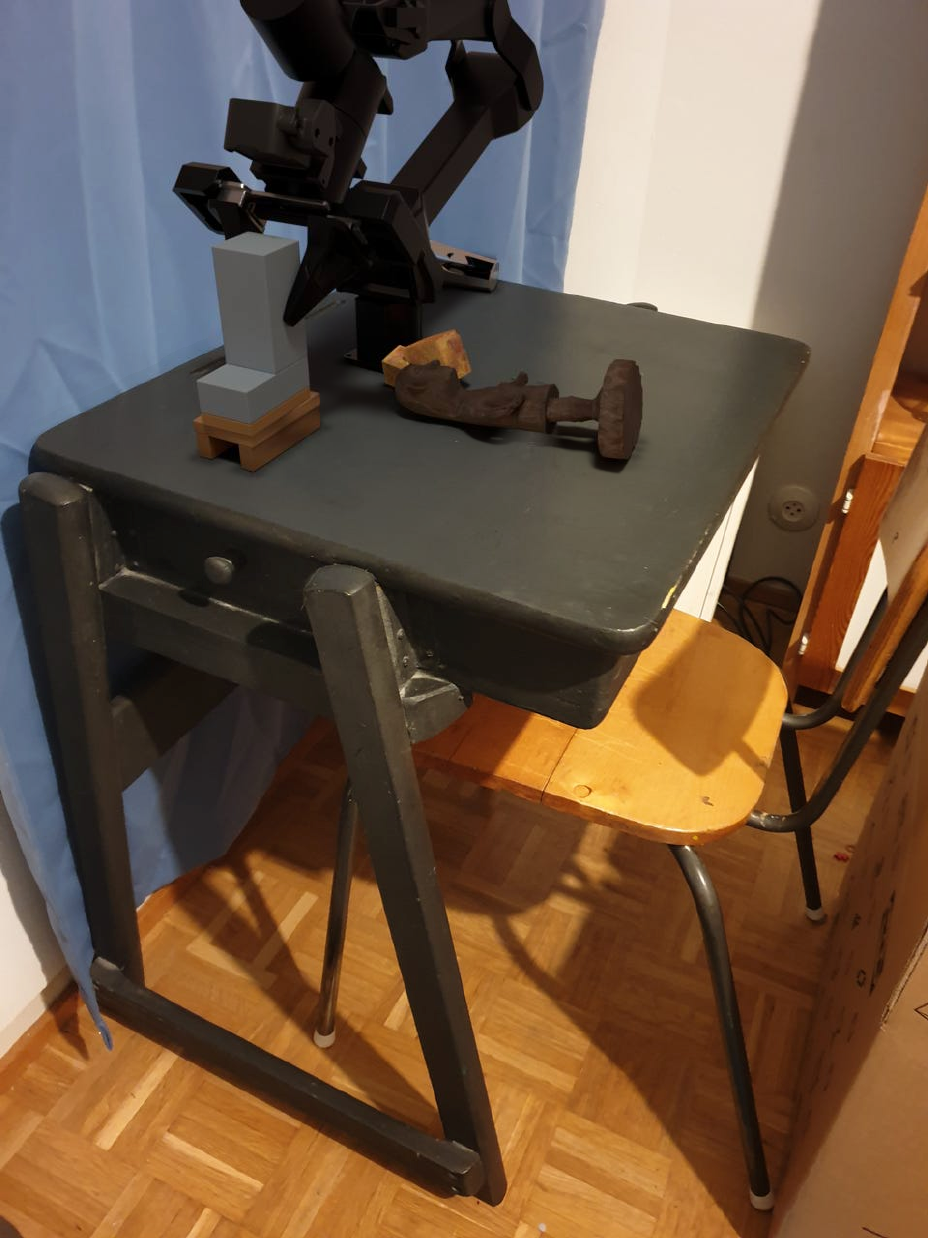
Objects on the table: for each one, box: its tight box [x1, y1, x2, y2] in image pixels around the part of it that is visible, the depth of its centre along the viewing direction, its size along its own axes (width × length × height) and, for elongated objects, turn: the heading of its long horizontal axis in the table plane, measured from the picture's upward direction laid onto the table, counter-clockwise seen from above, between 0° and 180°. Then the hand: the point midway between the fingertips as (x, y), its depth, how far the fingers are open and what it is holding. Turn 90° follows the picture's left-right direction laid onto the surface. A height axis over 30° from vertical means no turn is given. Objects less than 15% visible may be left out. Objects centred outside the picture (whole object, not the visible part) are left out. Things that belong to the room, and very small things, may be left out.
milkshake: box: [430, 238, 500, 292], centre depth 105 cm, size 5×5×10 cm
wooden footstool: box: [192, 390, 322, 473], centre depth 73 cm, size 9×5×3 cm, turn 153°
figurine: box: [394, 358, 644, 460], centre depth 75 cm, size 9×8×20 cm
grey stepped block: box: [196, 232, 311, 437], centre depth 68 cm, size 8×4×12 cm, turn 155°
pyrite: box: [382, 328, 473, 388], centre depth 82 cm, size 5×7×4 cm
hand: (259, 317), depth 68 cm, fingers open, 4 cm apart
